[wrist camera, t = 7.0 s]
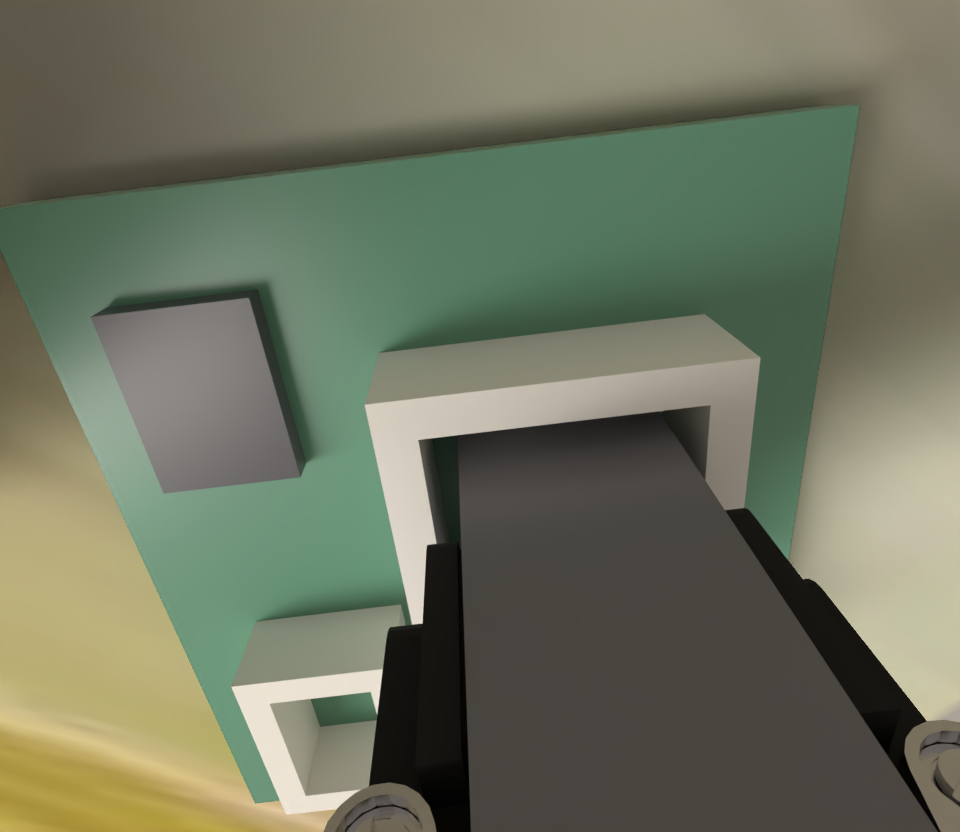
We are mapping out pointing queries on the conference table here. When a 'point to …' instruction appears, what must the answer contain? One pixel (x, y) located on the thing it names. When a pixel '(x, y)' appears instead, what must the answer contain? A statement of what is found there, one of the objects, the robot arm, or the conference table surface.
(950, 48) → the conference table surface
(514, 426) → the frame
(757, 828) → the plug
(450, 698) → the robot arm
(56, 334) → the board
